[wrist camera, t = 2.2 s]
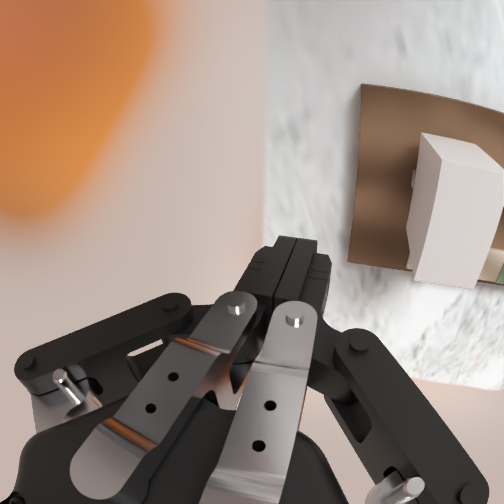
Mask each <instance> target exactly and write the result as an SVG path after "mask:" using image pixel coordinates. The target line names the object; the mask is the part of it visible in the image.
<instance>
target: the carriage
mask: <svg viewBox="0 0 504 504" xmlns="http://www.w3.org/2000/svg"><path fill="white" fill-rule="evenodd" d="M503 207H504V169H503V168H502V167H501V166H500V165H499V164H498V163H497V162H495V161H494V160H493V159H492V158H491V157H490V156H489V155H488V154H487V153H485V152H484V151H483V150H482V149H481V148H480V147H478V146H477V145H476V144H473V143H469V142H465V141H460V140H456V139H452V138H447V137H442V136H437V135H432V134H427V133H422V132H421V137H420V146H419V154H418V162H417V169H416V176H415V182H414V188H413V194H412V200H411V205H410V211H409V216H408V221H407V226H406V230H407V236H408V242H409V249H410V255H411V262H412V270H413V278H414V281H421V282H428V283H435V284H441V285H448V286H455V287H462V288H469V289H474V287H475V285H476V283H477V280H478V278H479V275H480V273H481V271H482V268H483V266H484V263H485V260H486V258H487V255H488V253H489V250H490V247H491V244H492V241H493V238H494V236H495V233H496V230H497V226H498V223H499V220H500V217H501V213H502V210H503Z"/></svg>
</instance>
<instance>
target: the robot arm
mask: <svg viewBox="0 0 504 504" xmlns="http://www.w3.org/2000/svg"><path fill="white" fill-rule="evenodd" d="M331 266H332V263H331V261H330V258H329V256H328V255H325V254H318V253H317V240H310V239H303V238H295V237H287V236H279V237H278V239H277V241H276V242H275V244H274V246H273V247H268V246H264V247H263V248H261V249H260V250H258V251H257V252H256V253H255V254H254V256H253V258H252V260H251V262H250V263H249V265H248V267H247V269H246V270H245V272H244V273H243V275H242V277H241V279H240V280H239V282H238V284H237V286H236V287H235V289H234V291H231V292H227V293H225V294H223V295H221V296H220V297H219V298H218V299H217V300H216V301H215V303H214V304H212V305H191V301H190V299H189V298H188V297H187V296H186V295H184V294H181V293H169V294H165V295H163V296H160V297H158V298H156V299H153V300H150V301H148V302H146V303H143V304H141V305H138V306H136V307H134V308H131V309H129V310H126V311H124V312H121V313H119V314H116V315H114V316H111V317H109V318H107V319H104V320H102V321H99V322H97V323H95V324H92V325H90V326H87V327H85V328H82V329H80V330H77V331H75V332H72V333H70V334H68V335H65V336H62V337H60V338H58V339H55V340H53V341H50V342H48V343H45V344H43V345H40V346H38V347H35V348H33V349H30V350H28V351H26V352H24V353H23V354H22V355H21V356H20V357H19V358H18V360H17V362H16V364H15V367H14V372H15V375H16V377H17V378H18V379H19V380H20V382H21V383H22V384H23V385H24V386H25V387H26V388H27V390H28V391H29V393H30V394H31V399H32V407H33V414H34V421H35V427H36V433H37V434H35V435H34V436H33V437H32V438H30V439H29V441H28V442H27V443H26V445H25V446H24V448H23V450H22V453H21V456H20V462H19V470H18V475H17V480H16V483H15V486H14V489H13V492H12V493H11V495H10V496H9V497H8V498H7V499H5V500H4V501H2V502H0V504H349V503H348V501H347V499H346V497H345V495H344V493H343V491H342V489H341V487H340V485H339V483H338V481H337V479H336V477H335V475H334V473H333V471H332V469H331V467H330V465H329V463H328V461H327V459H326V457H325V455H324V453H323V452H322V451H321V449H320V448H319V447H318V445H317V444H316V443H314V441H313V440H311V439H310V438H309V437H308V436H306V435H305V434H303V433H302V432H300V431H299V426H300V421H301V415H302V410H303V406H304V401H305V396H306V390H307V386H309V387H310V388H312V389H314V390H316V391H318V392H320V393H322V394H324V399H325V401H326V403H327V405H328V406H329V408H330V410H331V411H332V413H333V415H334V416H335V418H336V420H337V421H338V423H339V425H340V427H341V428H342V430H343V432H344V433H345V435H346V437H347V438H348V440H349V442H350V443H351V445H352V447H353V448H354V450H355V452H356V453H357V455H358V457H359V458H360V460H361V462H362V463H363V465H364V467H365V468H366V470H367V472H368V473H369V475H370V476H371V478H372V480H373V481H374V483H375V486H374V487H373V488H372V489H371V490H370V491H369V493H368V494H367V497H366V500H365V504H487V502H488V498H489V486H488V483H487V481H486V479H485V478H484V476H483V475H482V474H481V472H480V471H479V469H478V468H477V466H476V465H475V464H474V462H473V461H472V459H471V458H470V457H469V455H468V454H467V452H466V451H465V450H464V448H463V447H462V446H461V444H460V443H459V442H458V440H457V439H456V437H455V436H454V435H453V433H452V432H451V431H450V429H449V428H448V426H447V425H446V424H445V423H444V421H443V420H442V419H441V417H440V416H439V414H438V413H437V412H436V411H435V409H434V408H433V407H432V405H431V404H430V403H429V401H428V400H427V399H426V398H425V396H424V395H423V394H422V392H421V391H420V390H419V388H418V387H417V386H416V385H415V384H414V382H413V381H412V380H411V378H410V377H409V376H408V374H407V373H406V372H405V371H404V369H403V368H402V367H401V366H400V364H399V363H398V362H397V361H396V359H395V358H394V357H393V356H392V354H391V353H390V352H389V351H388V349H387V348H386V347H385V346H384V345H383V343H382V342H381V341H380V340H379V338H378V337H377V336H376V335H375V334H373V333H372V332H370V331H368V330H365V329H359V328H354V329H349V330H346V331H344V332H342V333H341V332H339V331H337V330H335V329H333V328H331V327H330V326H329V325H328V324H327V323H326V322H325V321H324V320H323V314H324V309H325V305H326V301H327V296H328V290H329V283H330V275H331ZM160 339H162V342H163V344H161V345H159V346H156V347H154V348H152V349H150V350H147V351H145V352H143V353H140V354H138V355H136V356H127V354H129V353H130V352H132V351H135V350H137V349H139V348H141V347H144V346H146V345H148V344H151V343H153V342H155V341H158V340H160ZM261 350H262V351H261ZM260 352H261V354H260ZM241 395H242V396H241ZM240 396H241V399H240V402H239V405H238V408H237V404H238V401H239V398H240ZM236 408H237V410H236Z"/></svg>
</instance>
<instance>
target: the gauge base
mask: <svg viewBox="0 0 504 504" xmlns="http://www.w3.org/2000/svg"><path fill="white" fill-rule="evenodd" d="M421 132H422V133H427V134H432V135H437V136H442V137H447V138H452V139H456V140H460V141H465V142H469V143H473V144H476V145H477V146H478V147H480V148H481V149H482V150H483V151H484V152H485V153H487V154H488V155H489V156H490V157H491V158H492V159H493V160H494V161H495V162H497V163H498V164H499V165H500V166H501V167H502V168H503V169H504V113H502V112H499V111H496V110H493V109H489V108H486V107H482V106H479V105H475V104H471V103H468V102H464V101H460V100H456V99H451V98H447V97H442V96H438V95H433V94H428V93H423V92H417V91H412V90H406V89H399V88H393V87H385V86H378V85H369V84H361V122H360V143H359V159H358V172H357V184H356V195H355V205H354V214H353V223H352V231H351V239H350V246H349V254H348V261H347V262H351V263H358V264H365V265H371V266H378V267H385V268H392V269H398V270H405V271H412V272H413V270H412V262H411V255H410V249H409V242H408V236H407V230H406V226H407V221H408V216H409V211H410V205H411V200H412V194H413V188H414V182H415V176H416V169H417V162H418V154H419V146H420V137H421ZM477 281H478V282H484V283H491V284H497V285H504V207H503V210H502V213H501V217H500V220H499V223H498V226H497V230H496V233H495V236H494V238H493V241H492V244H491V247H490V250H489V253H488V255H487V258H486V260H485V263H484V266H483V268H482V271H481V273H480V275H479V278H478V280H477Z"/></svg>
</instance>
